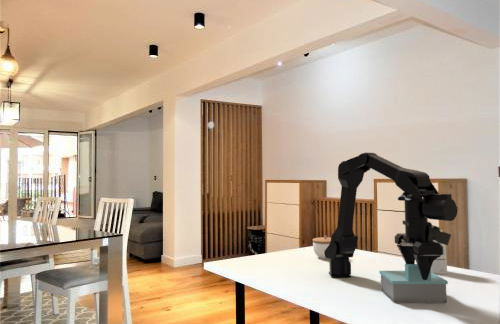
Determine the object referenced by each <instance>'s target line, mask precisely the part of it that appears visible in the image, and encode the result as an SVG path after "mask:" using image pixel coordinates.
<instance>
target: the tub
mask: <svg viewBox="0 0 500 324" xmlns="http://www.w3.org/2000/svg"><path fill="white" fill-rule="evenodd" d="M380 286H381V287H380V289H381V292H382V293H383V294H384V295H385V296H386V297H387V298H388V299H389V300H390V301H392V303H393V304H399V303H401V304H402V303H403V304H404V303H405V304H406V303H407V304H408V303H409V304H412V303H413V304H414V303H418V304H419V303H420V304H421V303H422V304H427V303H428V304H431V303H432V304H434V303H435V304H436V303H437V304H438V303H440V304H441V303H444V304H446V303H447V302H448V301H447V298H448V297H447V284H392V283H390V282H389V281H388V280H387V279H386V278H384V277H383V276H382V275H381V274H380Z"/></svg>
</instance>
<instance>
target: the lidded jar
mask: <svg viewBox="0 0 500 324" xmlns="http://www.w3.org/2000/svg"><path fill="white" fill-rule="evenodd" d="M330 241H331V237H329V236H327V234H326V235H325V234H324V235H323V236H322V237H314V238H312V248H313V251H314V254H315V255H316V256H317V257H318V259H321V260H329V258H326V257H325V254H324V251H325V250H326V248H327V247H328V246H329V244H330Z"/></svg>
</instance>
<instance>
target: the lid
mask: <svg viewBox="0 0 500 324" xmlns="http://www.w3.org/2000/svg"><path fill="white" fill-rule="evenodd" d="M378 273H379V275H380V276H381V275H382V276H383V277H384V278H386V279H387V280H388V281H389V282H390V283H392V284H446V285H448V284H449V283H448V280H446V279H445V278H443V277H441V276H439V275H438V274H434V273H432V272H431V269H430V273H429V276H428V279H427V280H423V279H422V277H421V274H420V271H419V268H418V266H417V263H415V264H406V263H405V264H404V270H379V272H378Z"/></svg>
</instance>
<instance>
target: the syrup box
mask: <svg viewBox="0 0 500 324" xmlns="http://www.w3.org/2000/svg"><path fill="white" fill-rule="evenodd" d="M440 231H442V232H444V231H443V230H441V229H440ZM433 241H434V242H436V241H435V240H433ZM437 243H439V242H437ZM439 244H441V245H442V246H443V251H444V255H441V256H440V257H439V258H437V259H435V260H434V261H433V263H432V266H431V272H432V273H434V274H436V275H438V274H439V275H447V274H448V264H447V245H444V244H442V243H439Z"/></svg>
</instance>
